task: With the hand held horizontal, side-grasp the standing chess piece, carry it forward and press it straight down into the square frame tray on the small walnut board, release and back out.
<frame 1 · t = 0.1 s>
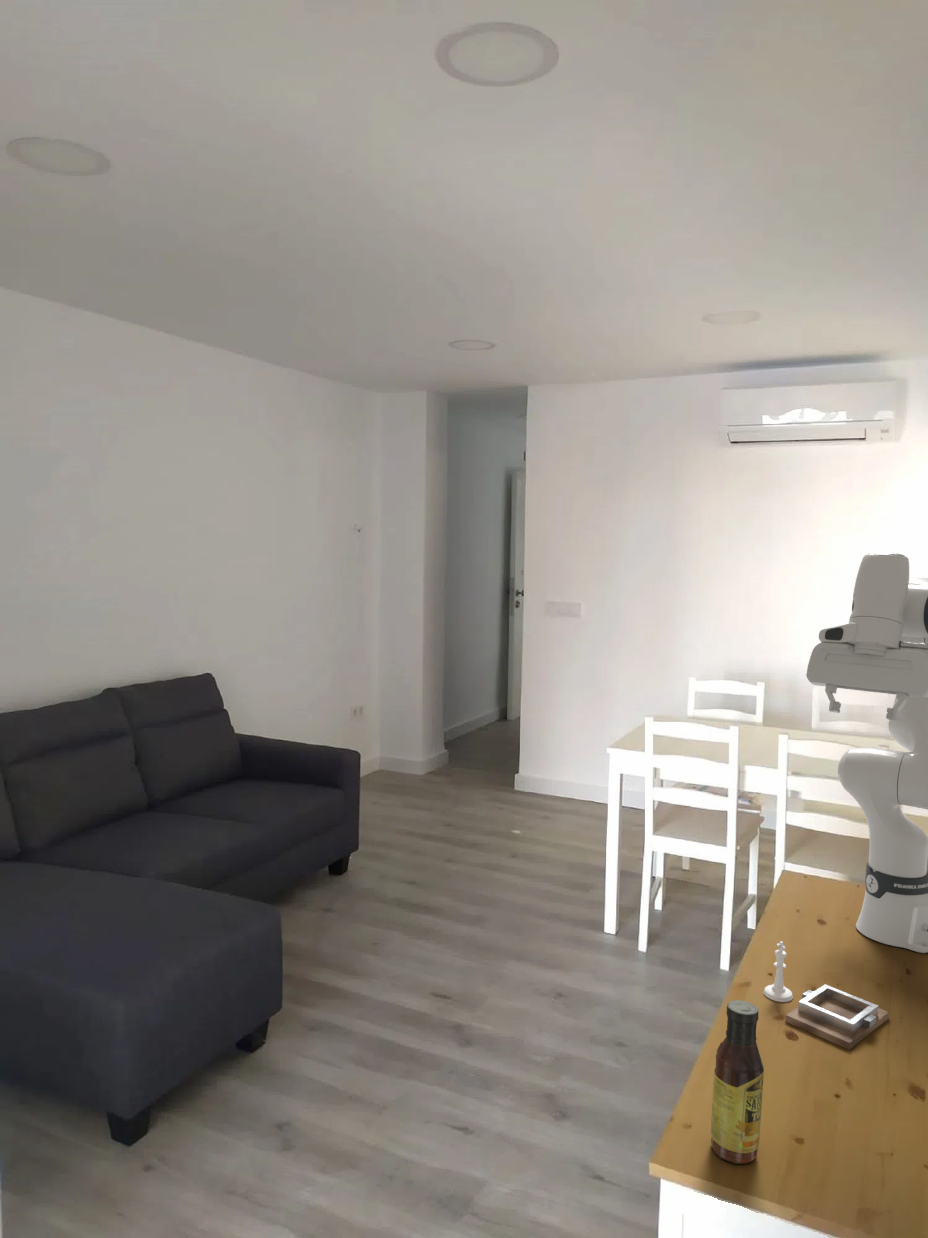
hand: (862, 715, 155), 52 cm above the table, tool tilted 20°, fingers open, 8 cm apart
sauce bottle: (734, 1152, 120), on the table
chess piece: (778, 996, 162), on the table
square frame tray: (838, 1008, 153), on the socket board, point 2 cm above the table
socket board: (837, 1020, 153), on the table
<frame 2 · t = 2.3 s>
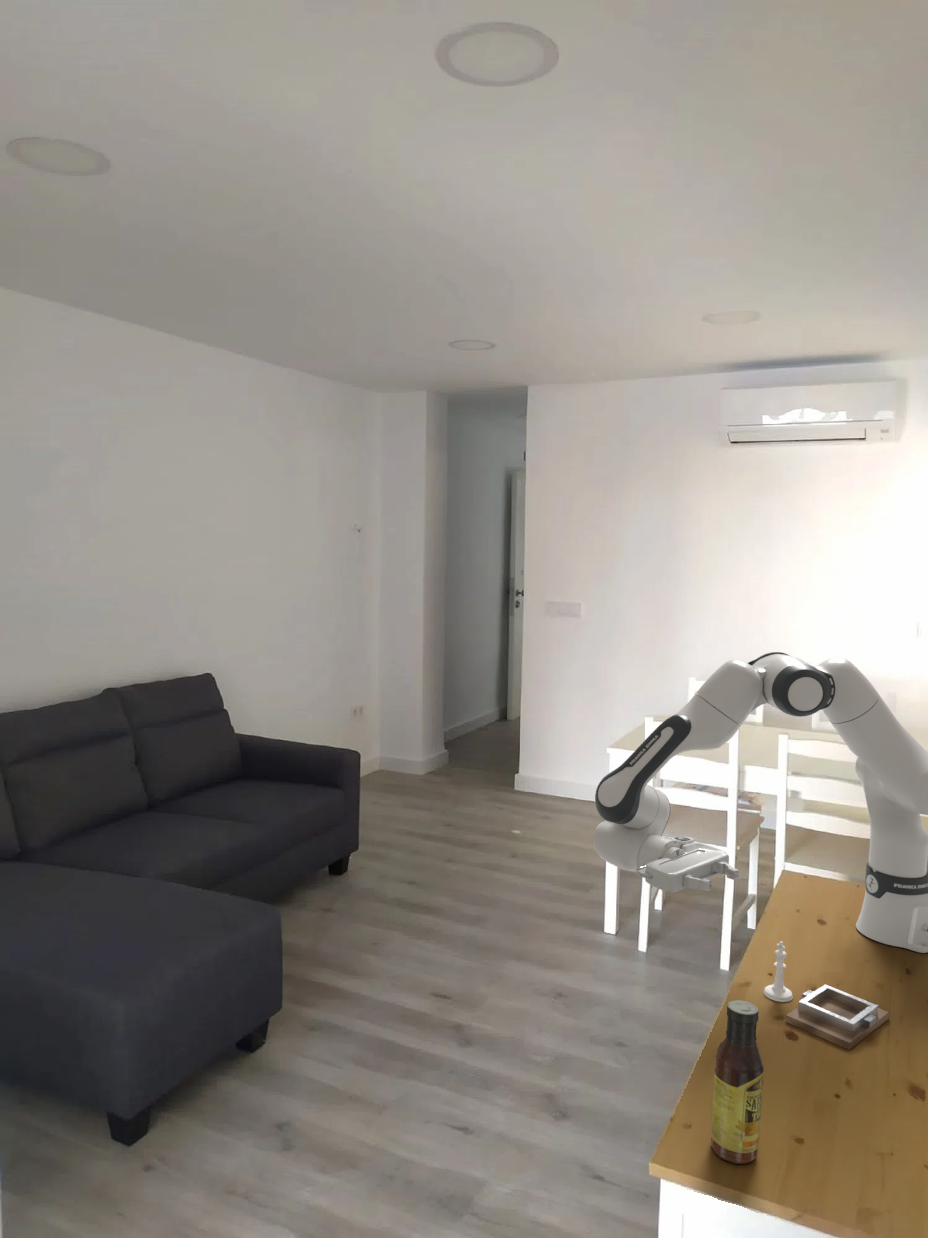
hand: (723, 880, 169), 18 cm above the table, tool horizontal, fingers open, 8 cm apart
nothing on the table moved.
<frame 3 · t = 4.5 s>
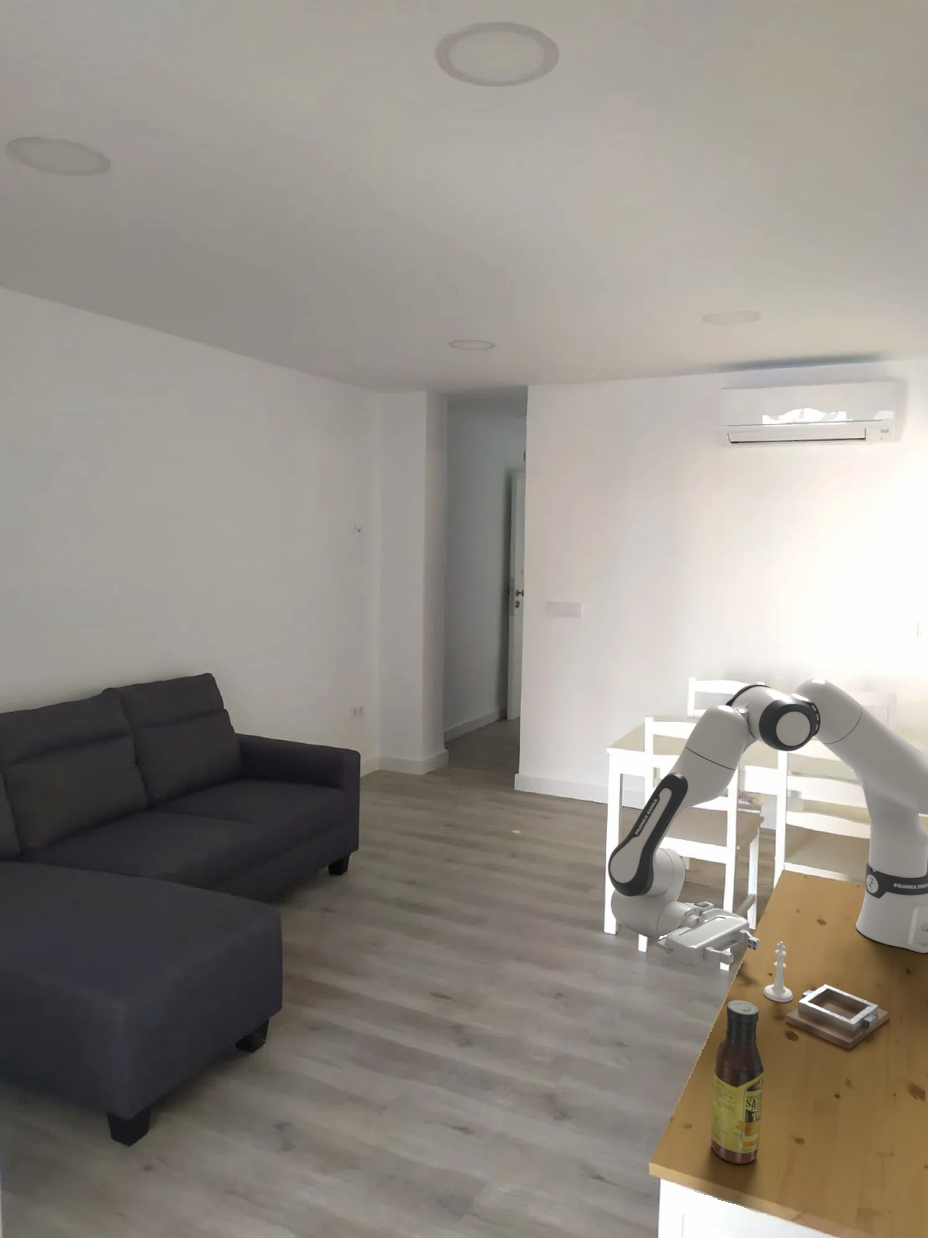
hand: (745, 952, 166), 5 cm above the table, tool horizontal, fingers open, 8 cm apart
nothing on the table moved.
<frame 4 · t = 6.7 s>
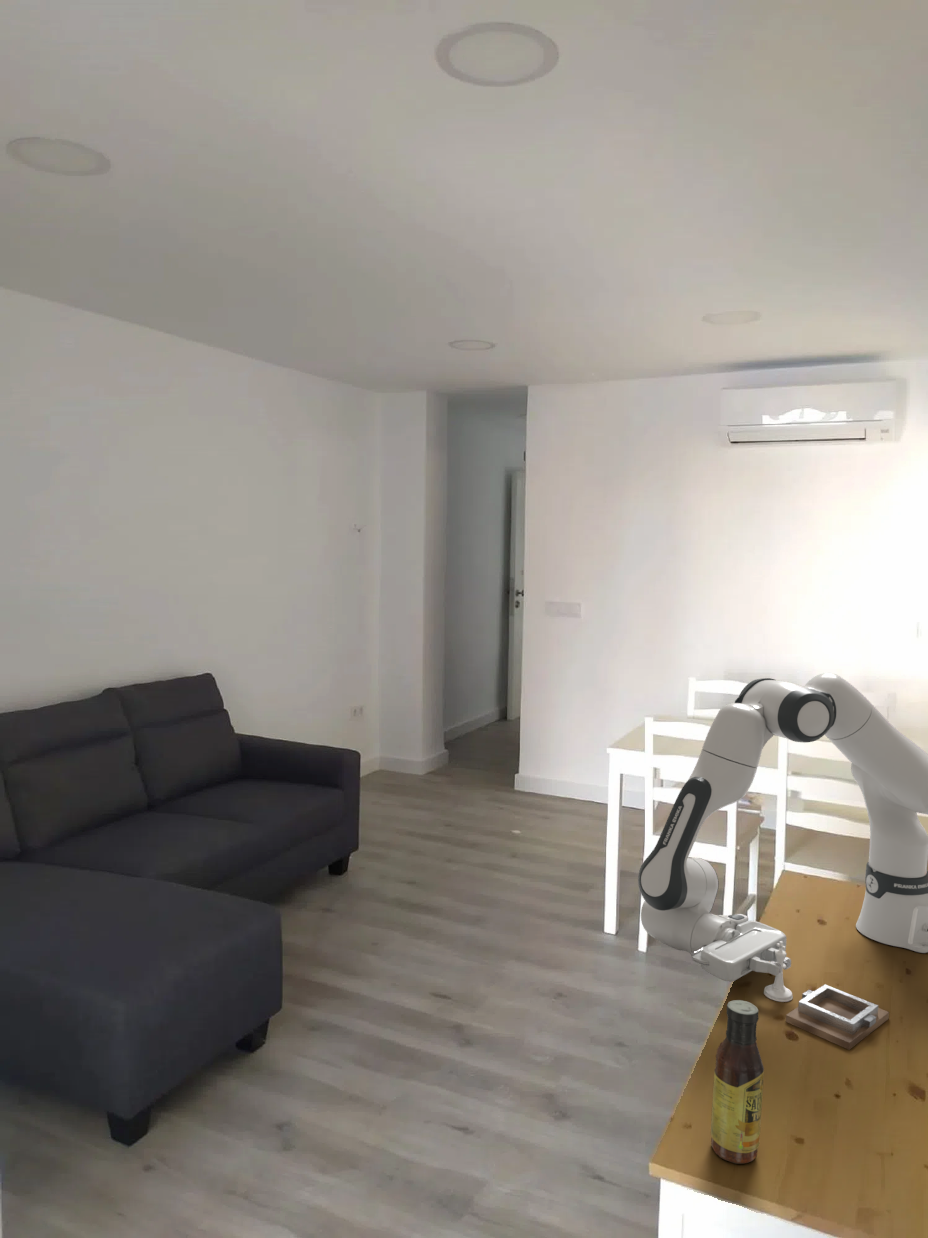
hand: (784, 967, 160), 6 cm above the table, tool horizontal, fingers closed on chess piece, 2 cm apart
chess piece: (778, 996, 162), on the table, touching gripper
everything else where it was.
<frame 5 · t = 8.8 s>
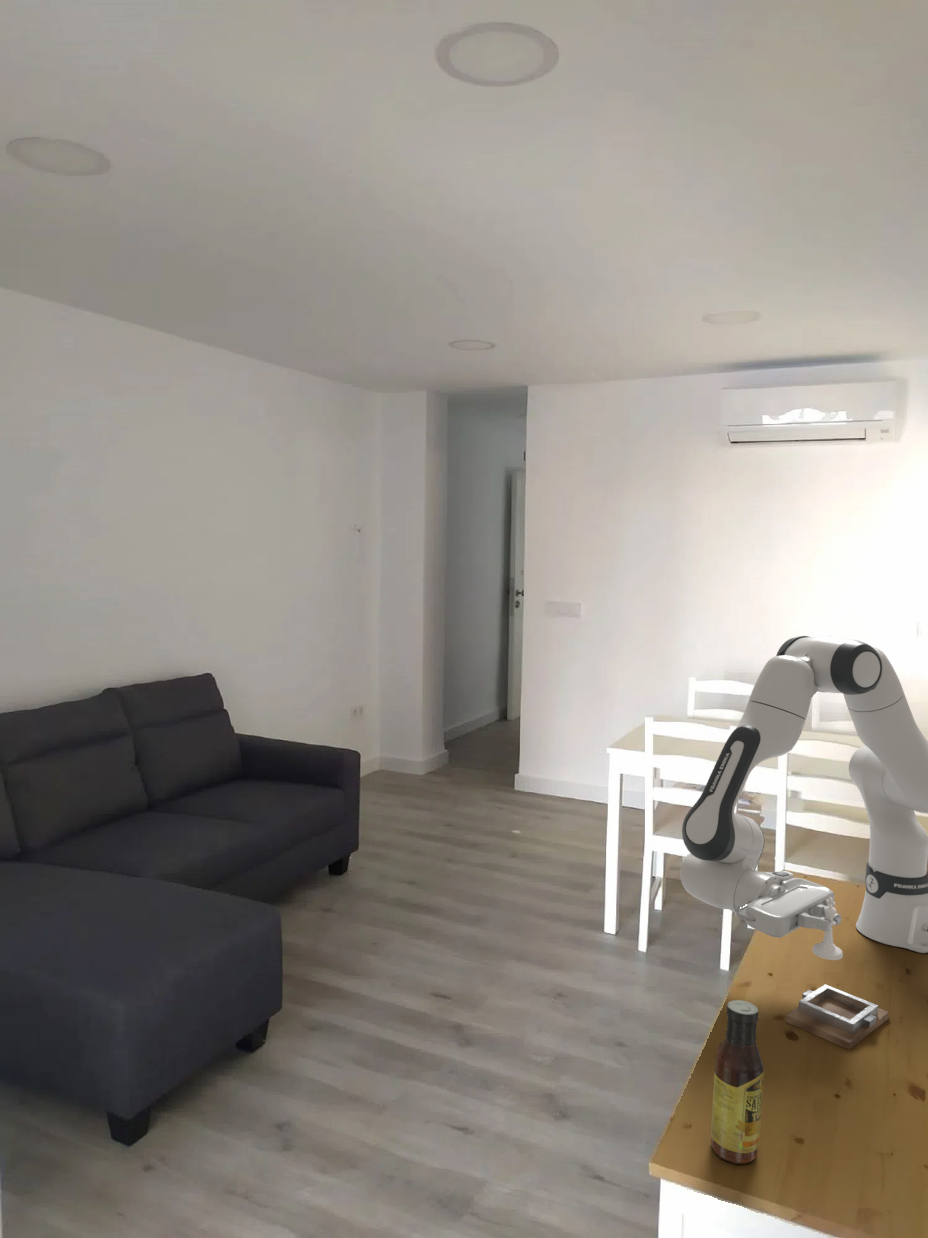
hand: (834, 923, 153), 17 cm above the table, tool horizontal, fingers closed on chess piece, 2 cm apart
chess piece: (827, 954, 155), point 11 cm above the table, touching gripper
everything else where it was.
when the fingers open (8 cm above the table, at t = 10.8 s): chess piece drops 1 cm, resting on socket board.
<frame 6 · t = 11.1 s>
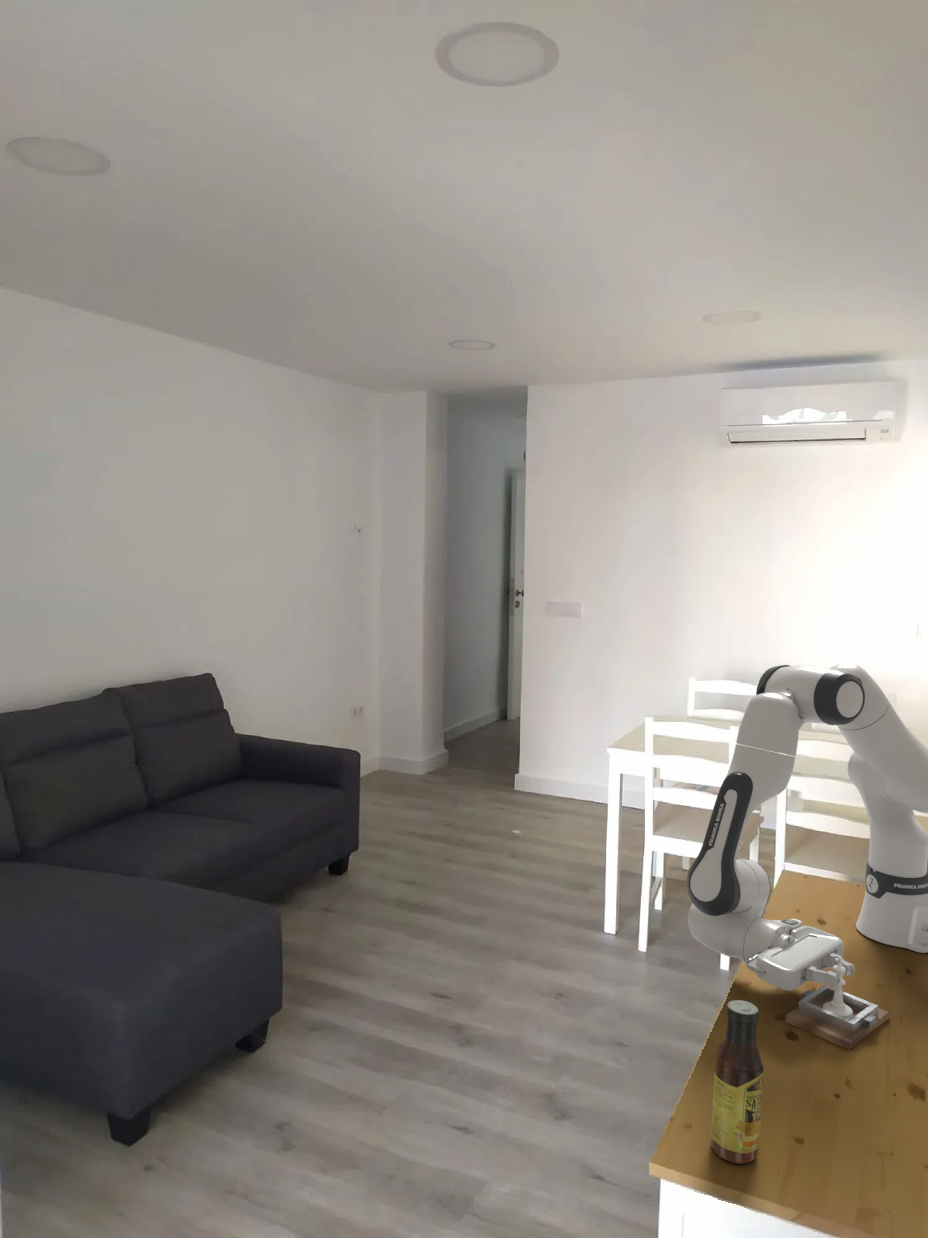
hand: (845, 976, 152), 8 cm above the table, tool horizontal, fingers open, 4 cm apart
chess piece: (837, 1014, 154), point 1 cm above the table, touching socket board
everything else where it was.
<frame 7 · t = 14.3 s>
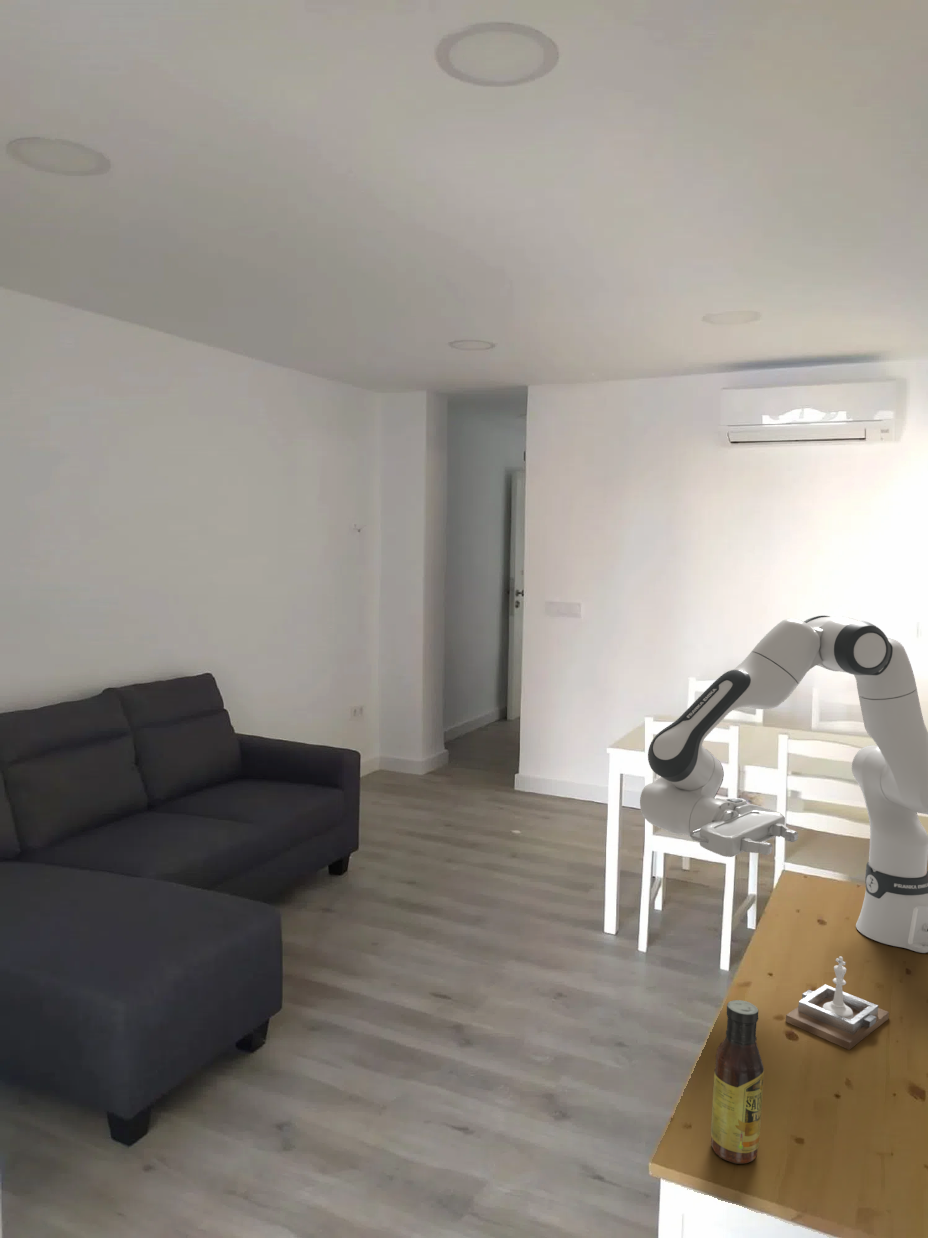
hand: (783, 843, 160), 28 cm above the table, tool horizontal, fingers open, 8 cm apart
nothing on the table moved.
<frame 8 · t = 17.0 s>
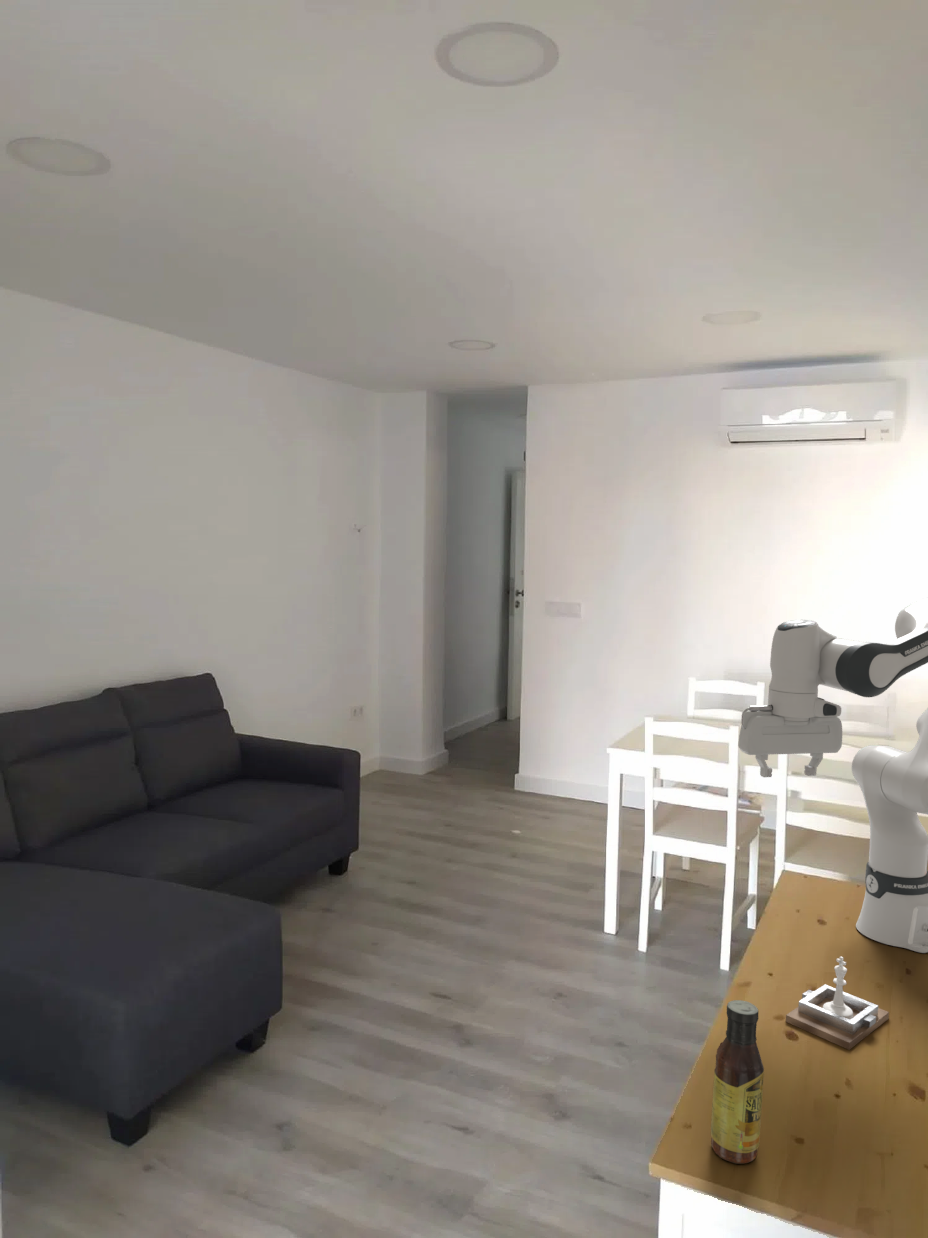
hand: (788, 776, 172), 37 cm above the table, tool pointing down, fingers open, 8 cm apart
nothing on the table moved.
at the end: chess piece 0.1 cm from the square frame tray (horizontally); chess piece tilted 0°; chess piece touching socket board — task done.
